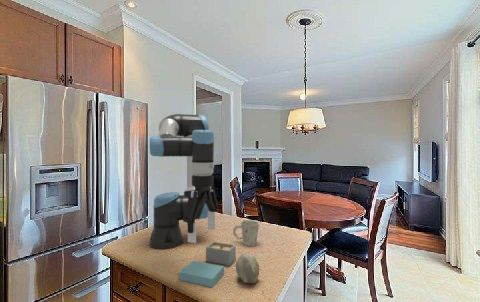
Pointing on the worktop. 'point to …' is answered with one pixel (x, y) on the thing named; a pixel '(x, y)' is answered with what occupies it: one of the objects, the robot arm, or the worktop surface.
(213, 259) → the box
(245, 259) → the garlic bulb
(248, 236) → the mug
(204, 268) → the lid
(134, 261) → the worktop surface
